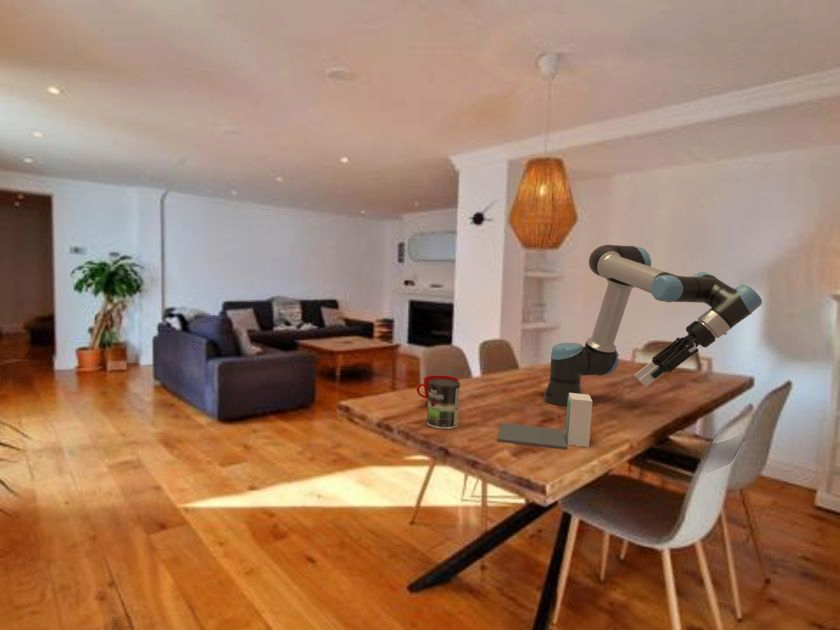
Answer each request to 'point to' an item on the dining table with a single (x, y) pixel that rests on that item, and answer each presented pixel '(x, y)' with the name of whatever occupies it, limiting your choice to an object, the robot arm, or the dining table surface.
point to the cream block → (578, 419)
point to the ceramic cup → (426, 383)
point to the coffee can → (443, 403)
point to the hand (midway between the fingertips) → (639, 380)
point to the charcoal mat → (532, 436)
